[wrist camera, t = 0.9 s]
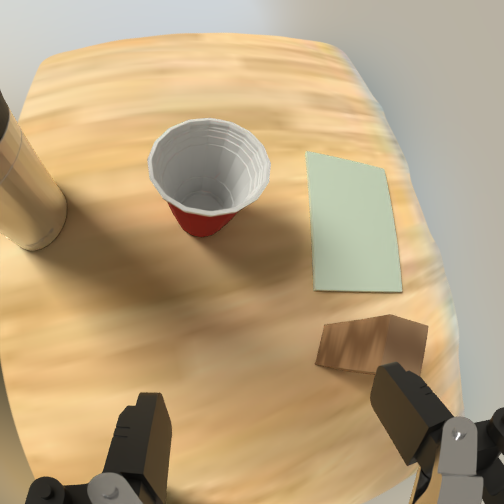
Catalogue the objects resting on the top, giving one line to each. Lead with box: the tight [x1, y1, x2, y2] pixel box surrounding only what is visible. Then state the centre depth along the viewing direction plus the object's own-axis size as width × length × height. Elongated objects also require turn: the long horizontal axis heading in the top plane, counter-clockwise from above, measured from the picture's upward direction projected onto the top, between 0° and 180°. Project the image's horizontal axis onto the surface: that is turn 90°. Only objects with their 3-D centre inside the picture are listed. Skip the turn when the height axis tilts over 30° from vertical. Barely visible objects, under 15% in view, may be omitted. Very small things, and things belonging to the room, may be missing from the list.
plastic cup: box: [148, 118, 271, 237], centre depth 30 cm, size 11×11×12 cm
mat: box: [305, 151, 402, 292], centre depth 40 cm, size 20×14×1 cm
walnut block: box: [315, 314, 428, 376], centre depth 28 cm, size 5×5×13 cm
